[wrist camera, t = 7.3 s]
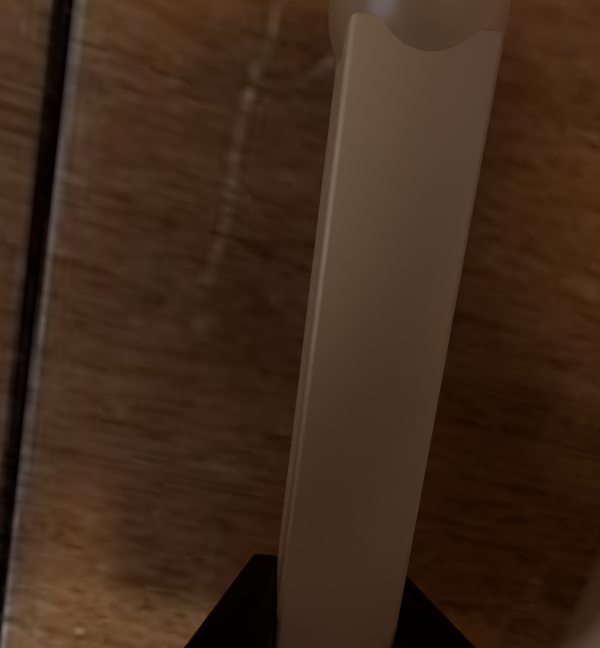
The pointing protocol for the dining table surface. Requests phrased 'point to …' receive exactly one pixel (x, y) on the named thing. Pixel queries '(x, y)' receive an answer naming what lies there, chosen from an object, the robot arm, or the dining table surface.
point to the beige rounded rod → (381, 305)
